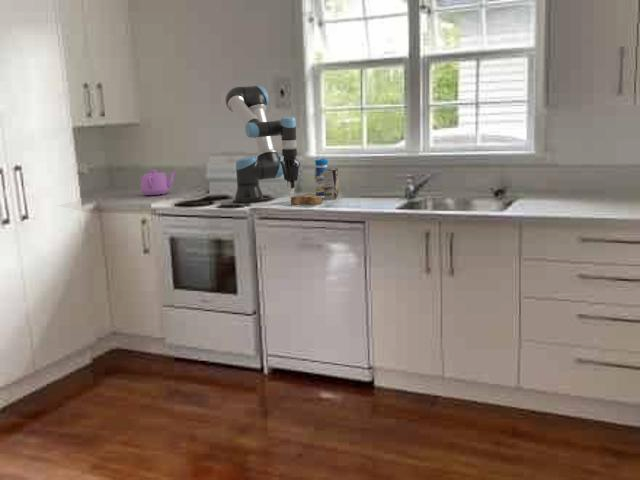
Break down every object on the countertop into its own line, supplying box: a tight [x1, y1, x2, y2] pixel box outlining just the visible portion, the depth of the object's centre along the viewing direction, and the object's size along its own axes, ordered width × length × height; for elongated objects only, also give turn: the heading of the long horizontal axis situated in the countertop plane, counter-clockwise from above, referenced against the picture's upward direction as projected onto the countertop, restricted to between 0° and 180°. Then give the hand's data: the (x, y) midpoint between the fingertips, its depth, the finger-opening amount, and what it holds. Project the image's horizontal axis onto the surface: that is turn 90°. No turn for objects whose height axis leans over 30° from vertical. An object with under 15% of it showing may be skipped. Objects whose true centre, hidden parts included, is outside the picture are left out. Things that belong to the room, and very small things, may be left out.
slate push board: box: [275, 200, 333, 209], centre depth 341 cm, size 26×18×1 cm
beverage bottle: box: [314, 158, 329, 197], centre depth 365 cm, size 8×8×20 cm
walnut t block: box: [290, 193, 323, 207], centre depth 337 cm, size 14×13×4 cm
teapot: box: [140, 169, 178, 196], centre depth 406 cm, size 23×21×15 cm
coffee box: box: [323, 167, 340, 201], centre depth 351 cm, size 9×6×16 cm
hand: (291, 194), depth 347 cm, fingers closed
